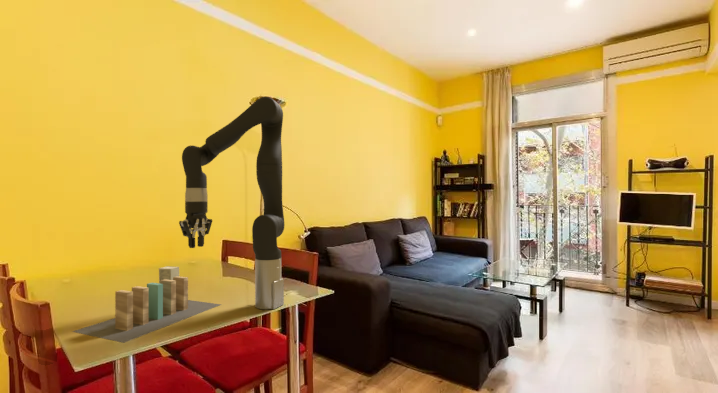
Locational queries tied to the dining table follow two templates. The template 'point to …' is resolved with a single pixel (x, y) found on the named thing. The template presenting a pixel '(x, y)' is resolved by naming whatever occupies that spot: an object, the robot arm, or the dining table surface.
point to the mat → (110, 333)
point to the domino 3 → (155, 300)
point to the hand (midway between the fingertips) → (196, 246)
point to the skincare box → (168, 273)
